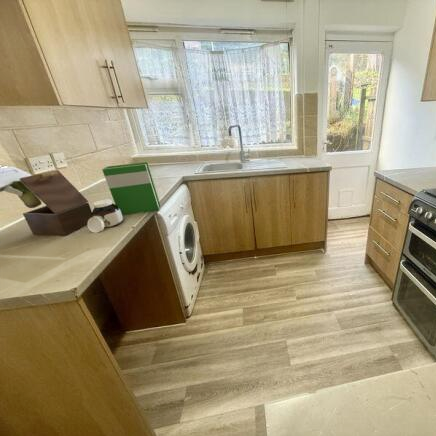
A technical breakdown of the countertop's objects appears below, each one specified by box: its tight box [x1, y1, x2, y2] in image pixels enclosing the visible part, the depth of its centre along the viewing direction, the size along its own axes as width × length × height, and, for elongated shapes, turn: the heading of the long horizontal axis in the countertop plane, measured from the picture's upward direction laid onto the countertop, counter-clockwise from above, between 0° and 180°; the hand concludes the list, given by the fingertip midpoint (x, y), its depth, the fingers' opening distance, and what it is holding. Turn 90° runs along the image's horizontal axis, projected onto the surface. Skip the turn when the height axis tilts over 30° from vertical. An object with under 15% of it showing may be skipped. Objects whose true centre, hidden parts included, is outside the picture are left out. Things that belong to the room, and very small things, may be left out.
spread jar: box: [86, 198, 124, 234], centre depth 108 cm, size 12×11×12 cm
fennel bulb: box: [10, 180, 43, 209], centre depth 98 cm, size 6×5×12 cm
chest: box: [22, 202, 93, 237], centre depth 109 cm, size 17×15×10 cm
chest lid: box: [20, 169, 89, 214], centre depth 103 cm, size 17×15×5 cm
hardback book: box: [101, 161, 161, 216], centre depth 122 cm, size 18×7×24 cm, turn 111°
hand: (26, 192), depth 98 cm, fingers closed on fennel bulb, 3 cm apart
